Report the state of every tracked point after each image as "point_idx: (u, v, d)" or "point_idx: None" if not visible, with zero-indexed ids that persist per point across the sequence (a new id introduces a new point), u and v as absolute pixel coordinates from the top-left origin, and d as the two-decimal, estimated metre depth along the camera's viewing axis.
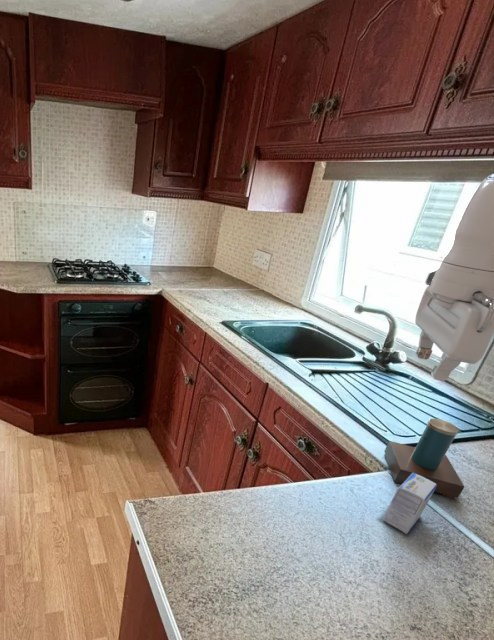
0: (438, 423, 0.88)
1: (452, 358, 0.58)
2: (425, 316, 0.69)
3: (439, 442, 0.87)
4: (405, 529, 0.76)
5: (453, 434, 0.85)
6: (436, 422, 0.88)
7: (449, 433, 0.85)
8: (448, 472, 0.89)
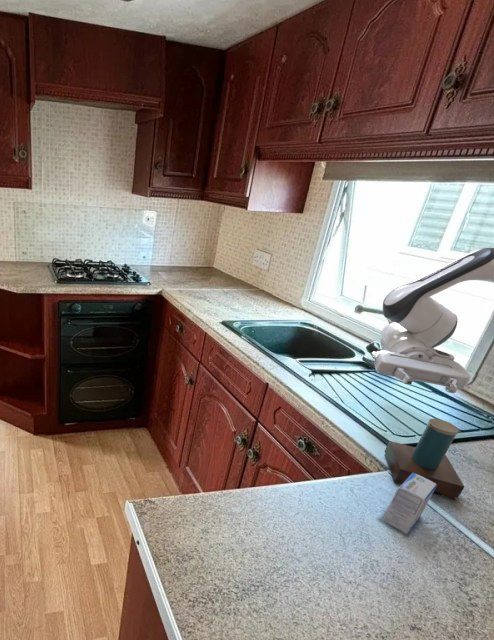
0: (438, 423, 0.88)
1: (379, 371, 1.02)
2: None
3: (439, 442, 0.87)
4: (405, 529, 0.76)
5: (453, 434, 0.85)
6: (436, 422, 0.88)
7: (449, 433, 0.85)
8: (448, 472, 0.89)
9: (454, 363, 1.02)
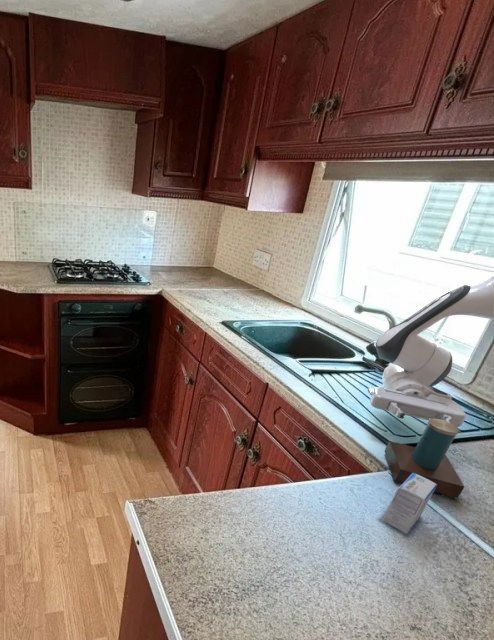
0: (438, 423, 0.88)
1: (373, 406, 1.05)
2: None
3: (439, 442, 0.87)
4: (405, 529, 0.76)
5: (453, 434, 0.85)
6: (436, 422, 0.88)
7: (449, 433, 0.85)
8: (448, 472, 0.89)
9: (451, 402, 1.03)
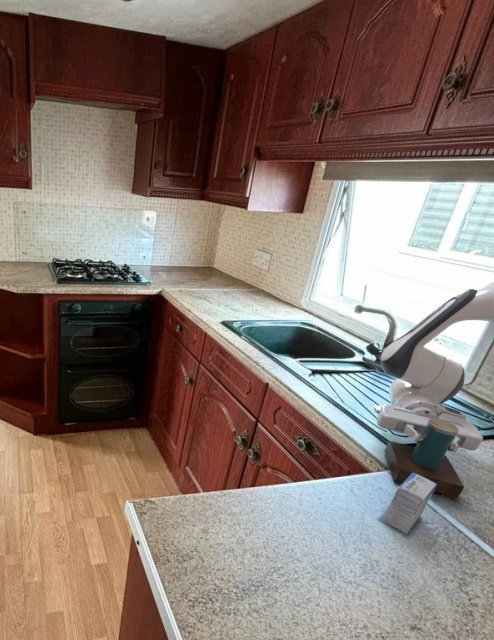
0: (438, 423, 0.88)
1: (381, 426, 0.96)
2: None
3: (439, 442, 0.87)
4: (405, 529, 0.76)
5: (453, 434, 0.85)
6: (436, 422, 0.88)
7: (449, 433, 0.85)
8: (448, 472, 0.89)
9: (465, 422, 0.94)
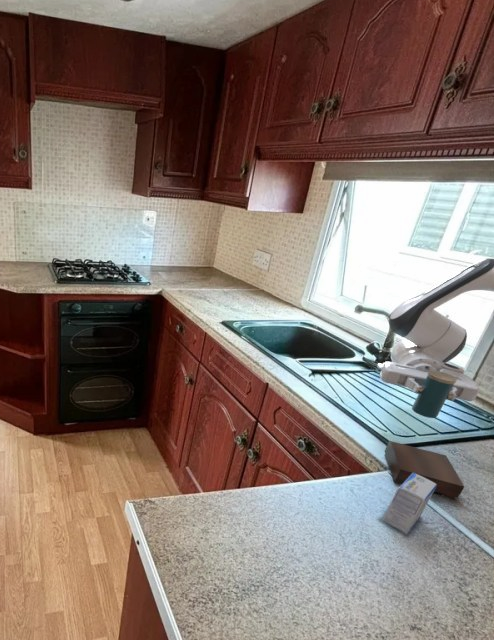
0: (437, 374, 0.94)
1: (383, 380, 1.02)
2: None
3: (438, 391, 0.93)
4: (405, 529, 0.76)
5: (451, 383, 0.91)
6: (435, 373, 0.94)
7: (448, 382, 0.91)
8: (448, 472, 0.89)
9: (463, 376, 1.00)
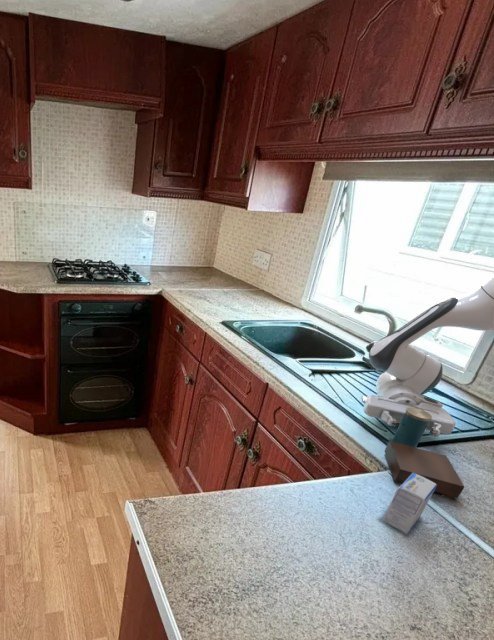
0: (414, 411, 1.01)
1: (366, 414, 1.09)
2: None
3: (415, 428, 1.00)
4: (405, 529, 0.76)
5: (427, 420, 0.98)
6: (413, 410, 1.01)
7: (423, 419, 0.98)
8: (448, 472, 0.89)
9: (441, 410, 1.07)
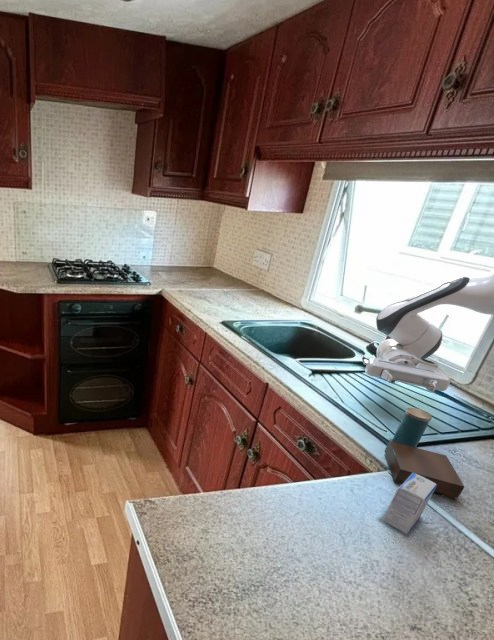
0: (414, 411, 1.01)
1: (368, 374, 1.17)
2: None
3: (415, 428, 1.00)
4: (405, 529, 0.76)
5: (427, 420, 0.98)
6: (413, 410, 1.01)
7: (423, 419, 0.98)
8: (448, 472, 0.89)
9: (437, 369, 1.15)
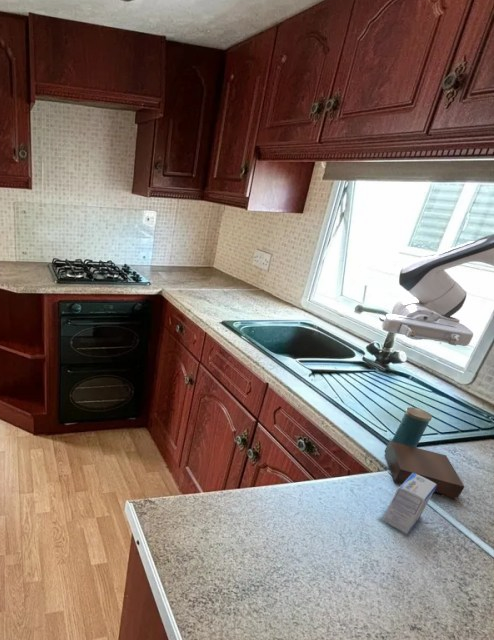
0: (414, 411, 1.01)
1: (385, 329, 1.11)
2: None
3: (415, 428, 1.00)
4: (405, 529, 0.76)
5: (427, 420, 0.98)
6: (413, 410, 1.01)
7: (423, 419, 0.98)
8: (448, 472, 0.89)
9: (459, 324, 1.09)
